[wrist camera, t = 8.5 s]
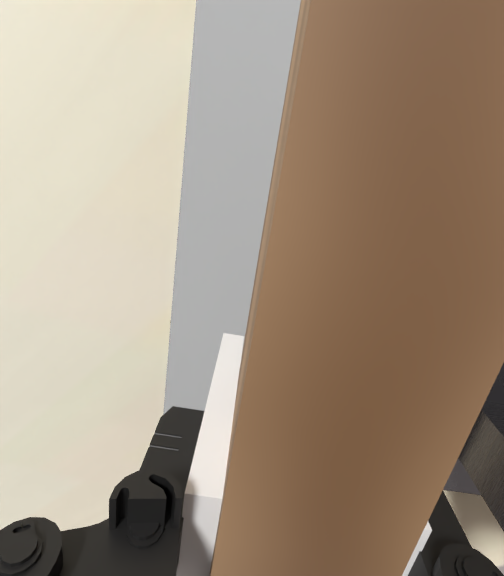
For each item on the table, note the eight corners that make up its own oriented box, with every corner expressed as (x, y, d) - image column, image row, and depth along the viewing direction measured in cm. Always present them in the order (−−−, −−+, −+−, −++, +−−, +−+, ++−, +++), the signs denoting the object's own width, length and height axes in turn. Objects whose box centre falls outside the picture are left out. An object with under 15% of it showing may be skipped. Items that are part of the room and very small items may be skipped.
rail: (198, 613, 16) (169, 813, 11) (304, -18, 8) (360, -285, 3) (277, 624, 16) (281, 828, 11) (463, 10, 8) (776, -208, 3)
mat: (158, 497, 22) (156, 503, 22) (200, -27, 13) (198, -33, 12) (318, 520, 22) (319, 526, 22) (478, 21, 13) (484, 17, 13)
